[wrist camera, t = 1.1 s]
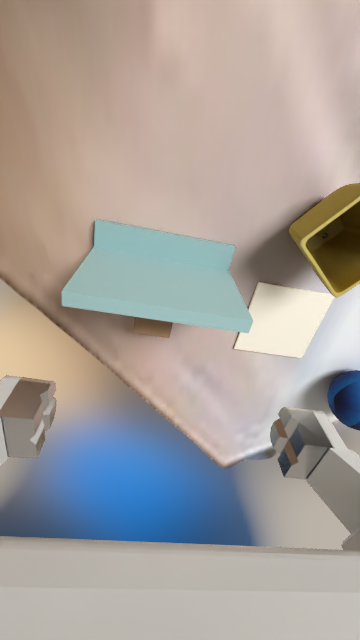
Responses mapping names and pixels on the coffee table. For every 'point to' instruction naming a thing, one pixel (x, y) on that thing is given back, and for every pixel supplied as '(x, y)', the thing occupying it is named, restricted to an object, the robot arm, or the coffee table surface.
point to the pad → (283, 320)
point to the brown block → (152, 327)
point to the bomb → (346, 398)
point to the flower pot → (332, 239)
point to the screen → (158, 278)
